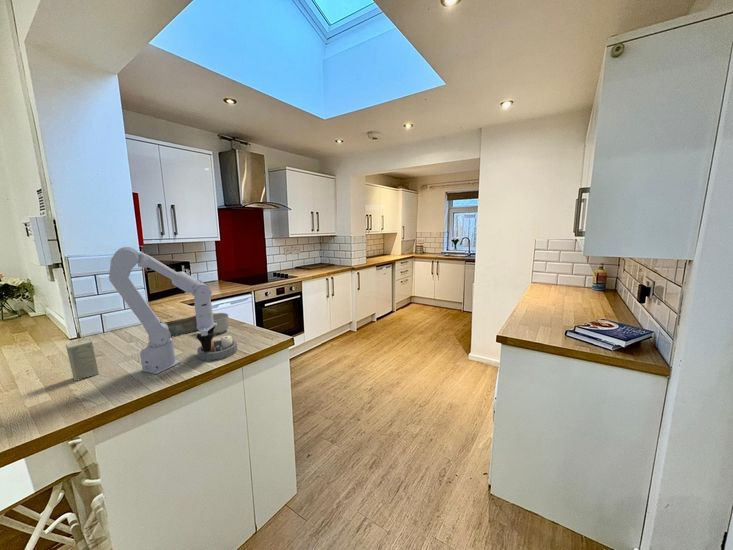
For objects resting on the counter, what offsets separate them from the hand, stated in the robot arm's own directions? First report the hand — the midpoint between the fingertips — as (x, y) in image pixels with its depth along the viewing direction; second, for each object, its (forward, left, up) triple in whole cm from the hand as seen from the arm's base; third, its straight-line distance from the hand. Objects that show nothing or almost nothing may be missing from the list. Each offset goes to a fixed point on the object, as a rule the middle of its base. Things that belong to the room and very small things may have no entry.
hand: (208, 347), depth 115 cm
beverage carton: (+16, +35, -3) cm, 38 cm away
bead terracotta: (0, 0, -2) cm, 2 cm away
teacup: (+20, +20, -3) cm, 28 cm away
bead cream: (+5, -5, -2) cm, 7 cm away
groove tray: (+2, -2, -3) cm, 4 cm away
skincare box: (-27, +27, -3) cm, 38 cm away
